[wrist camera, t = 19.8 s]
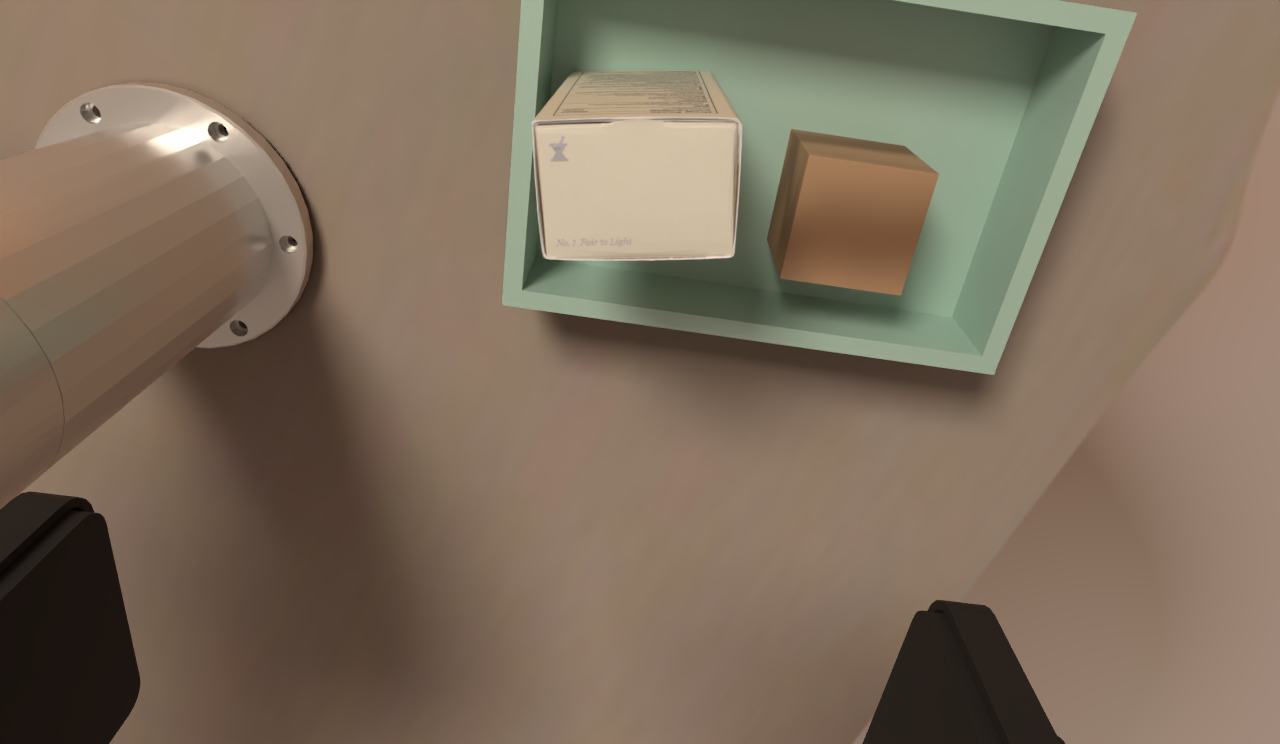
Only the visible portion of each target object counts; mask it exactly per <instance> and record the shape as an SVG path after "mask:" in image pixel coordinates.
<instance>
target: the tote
mask: <svg viewBox="0 0 1280 744" xmlns="http://www.w3.org/2000/svg"><path fill="white" fill-rule="evenodd" d="M1136 15H1137V13H1134V12H1128V11H1121V10H1115V9H1109V8H1103V7H1096V6H1090V5H1084V4H1078V3H1071V2H1065V1H1059V0H521V15H520V31H519V46H518V62H517V78H516V93H515V109H514V125H513V140H512V156H511V172H510V187H509V203H508V218H507V234H506V250H505V265H504V281H503V297H502V305H505V306H512V307H519V308H526V309H533V310H540V311H547V312H554V313H561V314H568V315H576V316H583V317H590V318H597V319H604V320H611V321H618V322H625V323H632V324H639V325H646V326H653V327H660V328H667V329H674V330H681V331H688V332H695V333H702V334H709V335H716V336H723V337H730V338H737V339H744V340H751V341H758V342H765V343H772V344H780V345H787V346H794V347H801V348H808V349H815V350H822V351H829V352H836V353H843V354H850V355H857V356H864V357H871V358H878V359H885V360H892V361H899V362H906V363H913V364H920V365H927V366H934V367H941V368H948V369H955V370H962V371H969V372H976V373H984V374H991V375H994V373H995V371H996V368H997V366H998V363H999V361H1000V358H1001V356H1002V353H1003V350H1004V348H1005V345H1006V343H1007V340H1008V338H1009V335H1010V333H1011V330H1012V328H1013V325H1014V323H1015V320H1016V318H1017V315H1018V313H1019V310H1020V308H1021V305H1022V303H1023V300H1024V297H1025V295H1026V292H1027V290H1028V287H1029V285H1030V282H1031V280H1032V277H1033V275H1034V272H1035V270H1036V267H1037V265H1038V262H1039V260H1040V257H1041V255H1042V252H1043V250H1044V247H1045V244H1046V242H1047V239H1048V237H1049V234H1050V232H1051V229H1052V227H1053V224H1054V222H1055V219H1056V217H1057V214H1058V212H1059V209H1060V207H1061V204H1062V202H1063V199H1064V197H1065V194H1066V191H1067V189H1068V186H1069V184H1070V181H1071V179H1072V176H1073V174H1074V171H1075V169H1076V166H1077V164H1078V161H1079V159H1080V156H1081V154H1082V151H1083V149H1084V146H1085V144H1086V141H1087V138H1088V136H1089V133H1090V131H1091V128H1092V126H1093V123H1094V121H1095V118H1096V116H1097V113H1098V111H1099V108H1100V106H1101V103H1102V101H1103V98H1104V96H1105V93H1106V91H1107V88H1108V85H1109V83H1110V80H1111V78H1112V75H1113V73H1114V70H1115V68H1116V65H1117V63H1118V60H1119V58H1120V55H1121V53H1122V50H1123V48H1124V45H1125V43H1126V40H1127V38H1128V35H1129V32H1130V30H1131V27H1132V25H1133V22H1134V20H1135V17H1136ZM609 70H686V71H710V72H712V73H713V75H714V76H715V78H716V80H717V81H718V83H719V85H720V86H721V88H722V90H723V92H724V94H725V95H726V97H727V99H728V100H729V102H730V104H731V106H732V107H733V109H734V111H735V112H736V114H737V116H738V117H739V119H740V121H741V122H742V126H743V131H742V157H741V176H740V192H739V208H738V218H737V232H736V246H735V254H734V256H733V257H732V258H721V259H691V260H655V261H650V260H647V261H574V260H549V259H545V258H544V256H543V254H542V249H541V241H540V233H539V224H538V214H537V202H536V188H535V177H534V159H533V141H532V126H531V123H532V121H533V120H534V119H535V117H536V116H537V115H538V114H539V112H540V111H541V110H542V109H543V108H544V106H545V105H546V104H547V102H548V101H549V100H550V99H551V97H552V96H553V95H554V94H555V92H556V91H557V90H558V89H559V87H560V86H561V85H562V84H563V82H564V81H565V80H566V79H567V77H568V76H569V75H570V74H571V73H572V72H575V71H609ZM791 129H796V130H802V131H809V132H816V133H822V134H829V135H836V136H842V137H849V138H856V139H862V140H869V141H876V142H882V143H889V144H896V145H902V146H905V147H907V148H908V149H909V150H910V151H912V152H913V153H914V154H915V155H916V156H918V157H919V158H920V159H921V160H923V161H924V162H925V163H926V164H927V165H929V166H930V167H931V168H932V169H934V170H935V171H936V172H937V173H938V174H939V176H938V180H937V183H936V186H935V189H934V192H933V195H932V199H931V202H930V205H929V208H928V211H927V214H926V218H925V221H924V224H923V227H922V230H921V234H920V237H919V240H918V243H917V246H916V249H915V253H914V256H913V259H912V262H911V265H910V268H909V272H908V275H907V278H906V281H905V284H904V288H903V291H902V294H901V296H899V295H892V294H885V293H878V292H871V291H864V290H857V289H850V288H843V287H836V286H829V285H822V284H815V283H808V282H801V281H794V280H787V279H780V277H779V274H778V271H777V268H776V265H775V262H774V259H773V256H772V253H771V250H770V247H769V245H768V242H767V236H768V231H769V227H770V222H771V218H772V213H773V209H774V204H775V200H776V195H777V191H778V186H779V182H780V177H781V173H782V168H783V164H784V159H785V155H786V150H787V146H788V141H789V137H790V132H791Z"/></svg>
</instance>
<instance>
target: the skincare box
mask: <svg viewBox="0 0 1280 744" xmlns="http://www.w3.org/2000/svg"><path fill="white" fill-rule="evenodd" d="M531 126H532V141H533V159H534V177H535V188H536V202H537V214H538V224H539V233H540V241H541V249H542V254H543V256H544V258H545V259H549V260H574V261H647V260H650V261H655V260H691V259H721V258H732V257H733V256H734V254H735V246H736V232H737V218H738V208H739V192H740V176H741V157H742V131H743V126H742V122H741V121H740V119H739V117H738V116H737V114H736V112H735V111H734V109H733V107H732V106H731V104H730V102H729V100H728V99H727V97H726V95H725V94H724V92H723V90H722V88H721V86H720V85H719V83H718V81H717V80H716V78H715V76H714V75H713V73H712V72H710V71H686V70H609V71H575V72H572V73H571V74H570V75H569V76H568V77H567V79H566V80H565V81H564V82H563V84H562V85H561V86H560V87H559V89H558V90H557V91H556V92H555V94H554V95H553V96H552V97H551V99H550V100H549V101H548V102H547V104H546V105H545V106H544V108H543V109H542V110H541V111H540V112H539V114H538V115H537V116H536V117H535V119H534V120H533V121H532V123H531Z"/></svg>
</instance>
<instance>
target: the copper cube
mask: <svg viewBox="0 0 1280 744" xmlns="http://www.w3.org/2000/svg"><path fill="white" fill-rule="evenodd" d="M938 176H939V174H938V173H937V172H936V171H935V170H934V169H932V168H931V167H930V166H929V165H927V164H926V163H925V162H924V161H923V160H921V159H920V158H919V157H918V156H916V155H915V154H914V153H913V152H912V151H910V150H909V149H908V148H907V147H905V146H902V145H896V144H889V143H882V142H876V141H869V140H862V139H856V138H849V137H842V136H836V135H829V134H822V133H816V132H809V131H802V130H796V129H791V132H790V137H789V141H788V146H787V150H786V155H785V159H784V164H783V168H782V173H781V177H780V182H779V186H778V191H777V195H776V200H775V204H774V209H773V213H772V218H771V222H770V227H769V231H768V236H767V242H768V245H769V247H770V250H771V253H772V256H773V259H774V262H775V265H776V268H777V271H778V274H779V277H780V279H787V280H794V281H801V282H808V283H815V284H822V285H829V286H836V287H843V288H850V289H857V290H864V291H871V292H878V293H885V294H892V295H899V296H901V294H902V291H903V288H904V284H905V281H906V278H907V275H908V272H909V268H910V265H911V262H912V259H913V256H914V253H915V249H916V246H917V243H918V240H919V237H920V234H921V230H922V227H923V224H924V221H925V218H926V214H927V211H928V208H929V205H930V202H931V199H932V195H933V192H934V189H935V186H936V183H937V180H938Z"/></svg>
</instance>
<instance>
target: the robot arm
mask: <svg viewBox="0 0 1280 744" xmlns="http://www.w3.org/2000/svg"><path fill="white" fill-rule="evenodd" d="M223 125H224V126H225V127H226V128H227V131H228V133H226V131H225V130H224V128H223ZM292 237H293V238H294V239H295V240H296V241H297V243H295V242H294V241H293V240H292ZM312 261H313V233H312V228H311V223H310V218H309V213H308V209H307V207H306V204H305V202H304V199H303V197H302V194H301V191H300V189H299V186H298V184H297V183H296V181H295V179H294V178H293V176H292V174H291V173H290V171H289V169H288V168H287V166H286V164H285V163H284V161H283V160H282V159H281V157H280V156H279V155H278V154H277V153H276V151H275V150H274V149H273V148H272V147H271V145H270V144H269V143H268V142H267V141H266V139H265V138H264V137H263V136H261V135H260V134H259V133H258V132H257V131H256V130H255V129H253V128H252V127H251V126H250V125H249V124H248V123H247V122H246V121H244V120H243V119H242V118H241V117H239V116H238V115H236V114H234V113H233V112H231V111H230V110H228V109H227V108H225V107H224V106H222V105H220V104H219V103H217V102H216V101H213V100H211V99H209V98H206V97H204V96H202V95H199V94H197V93H195V92H193V91H190V90H187V89H183V88H179V87H175V86H171V85H167V84H163V83H149V82H129V83H123V84H117V85H111V86H106V87H103V88H100V89H96V90H93V91H89V92H86V93H84V94H82V95H80V96H79V97H77V98H75V99H73V100H72V101H70V102H68V103H66V104H65V105H64V106H63V107H62V108H61V109H60V110H59V111H58V112H57V113H56V114H55V115H54V116H53V117H52V118H51V119H50V120H49V121H48V122H47V124H46V126H45V128H44V129H43V131H42V133H41V135H40V136H39V138H38V140H37V142H36V146H35V150H32V151H29V152H26V153H23V154H20V155H16V156H13V157H10V158H7V159H3V160H0V744H109V743H110V741H111V740H112V739H113V737H114V736H115V734H116V733H117V731H118V730H119V729H120V727H121V726H122V724H123V723H124V721H125V720H126V718H127V717H128V716H129V714H130V712H131V711H132V709H133V707H134V705H135V703H136V700H137V697H138V694H139V689H140V676H139V671H138V666H137V662H136V657H135V653H134V648H133V643H132V639H131V634H130V630H129V625H128V620H127V616H126V611H125V607H124V602H123V597H122V593H121V588H120V584H119V579H118V574H117V570H116V565H115V561H114V556H113V551H112V547H111V542H110V538H109V533H108V528H107V524H106V521H105V519H104V517H103V516H102V515H101V514H99V513H94V510H93V508H92V505H91V504H90V503H89V502H88V501H87V500H86V499H83V498H79V497H71V496H63V495H54V494H46V493H38V492H26V493H21V492H22V491H23V490H25V489H26V488H27V487H28V486H29V485H31V484H32V483H33V482H34V481H35V480H37V479H38V478H39V477H40V476H41V475H42V474H43V473H44V472H46V471H47V470H48V469H49V468H51V467H52V466H53V465H54V464H55V463H57V462H58V461H59V460H60V459H61V458H63V457H64V456H65V455H66V454H67V453H69V452H70V451H71V450H72V449H73V448H75V447H76V446H77V445H78V444H79V443H81V442H82V441H83V440H84V439H86V438H87V437H88V436H89V435H90V434H92V433H93V432H94V431H95V430H96V429H98V428H99V427H100V426H101V425H102V424H104V423H105V422H106V421H107V420H108V419H110V418H111V417H112V416H113V415H114V414H116V413H117V412H118V411H119V410H121V409H122V408H123V407H124V406H125V405H127V404H128V403H129V402H130V401H131V400H133V399H134V398H135V397H136V396H137V395H139V394H140V393H141V392H142V391H143V390H145V389H146V388H147V387H148V386H149V385H151V384H152V383H153V382H154V381H156V380H157V379H158V378H159V377H160V376H162V375H163V374H164V373H165V372H166V371H168V370H169V369H170V368H171V367H172V366H174V365H175V364H176V363H177V362H178V361H180V360H181V359H182V358H183V357H184V356H186V355H187V354H188V353H189V352H191V351H192V350H193V349H194V348H209V349H212V348H220V347H228V346H235V345H238V344H241V343H244V342H247V341H250V340H253V339H255V338H257V337H258V336H260V335H262V334H263V333H265V332H267V331H268V330H270V329H272V328H273V327H274V326H275V325H276V324H277V323H278V322H280V321H281V320H282V319H283V318H284V317H285V316H286V315H287V314H288V313H289V312H290V310H291V309H292V308H293V307H294V305H295V304H296V303H297V302H298V300H299V299H300V297H301V295H302V293H303V291H304V288H305V286H306V284H307V282H308V280H309V275H310V270H311V266H312ZM20 493H21V494H20ZM19 494H20V495H19ZM17 495H18V496H17ZM16 496H17V497H16ZM863 744H1065V743H1064V741H1063V740H1062V739H1061V738H1060V737H1058V736H1057V735H1056V733H1055V731H1054V729H1053V727H1052V726H1051V723H1050V721H1049V719H1048V718H1047V716H1046V714H1045V712H1044V710H1043V708H1042V706H1041V704H1040V702H1039V700H1038V698H1037V696H1036V694H1035V692H1034V690H1033V688H1032V687H1031V685H1030V683H1029V681H1028V679H1027V677H1026V675H1025V673H1024V671H1023V669H1022V667H1021V665H1020V664H1019V661H1018V659H1017V658H1016V655H1015V654H1014V652H1013V650H1012V648H1011V646H1010V644H1009V642H1008V640H1007V638H1006V636H1005V634H1004V632H1003V630H1002V628H1001V626H1000V624H999V623H998V620H997V619H996V617H995V615H994V614H993V612H992V611H991V609H990V608H988V607H986V606H985V605H977V604H968V603H960V602H952V601H943V600H936V601H935V602H933V603H932V604H931V606H930V607H929V609H928V611H918V612H917V613H916V614H915V616H914V618H913V620H912V622H911V625H910V627H909V630H908V632H907V635H906V637H905V640H904V642H903V645H902V647H901V650H900V652H899V654H898V657H897V659H896V662H895V664H894V667H893V669H892V672H891V674H890V677H889V679H888V682H887V684H886V687H885V689H884V692H883V694H882V697H881V699H880V702H879V704H878V707H877V709H876V712H875V714H874V717H873V719H872V722H871V724H870V727H869V729H868V732H867V734H866V737H865V739H864V742H863Z"/></svg>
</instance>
